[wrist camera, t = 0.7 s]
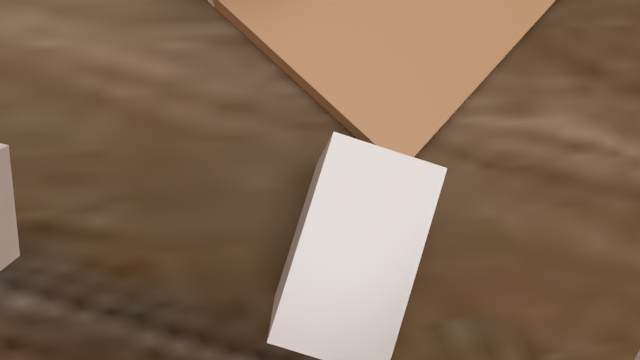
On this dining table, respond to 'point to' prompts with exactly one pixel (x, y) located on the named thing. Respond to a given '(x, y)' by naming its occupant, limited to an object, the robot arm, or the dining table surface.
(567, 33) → the dining table surface
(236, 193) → the dining table surface
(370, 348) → the white block
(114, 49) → the dining table surface
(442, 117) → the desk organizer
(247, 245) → the dining table surface
